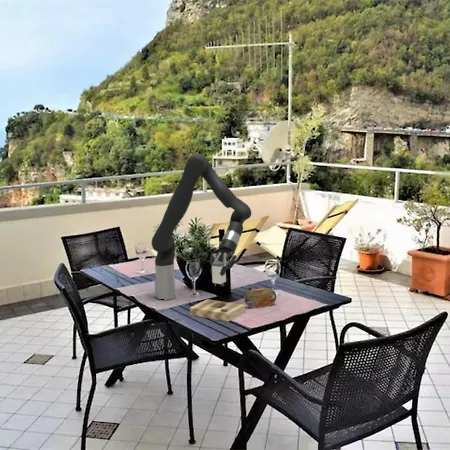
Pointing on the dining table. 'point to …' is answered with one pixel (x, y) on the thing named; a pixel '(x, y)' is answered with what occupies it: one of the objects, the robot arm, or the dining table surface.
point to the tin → (260, 297)
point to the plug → (218, 273)
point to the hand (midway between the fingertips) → (216, 274)
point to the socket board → (217, 310)
